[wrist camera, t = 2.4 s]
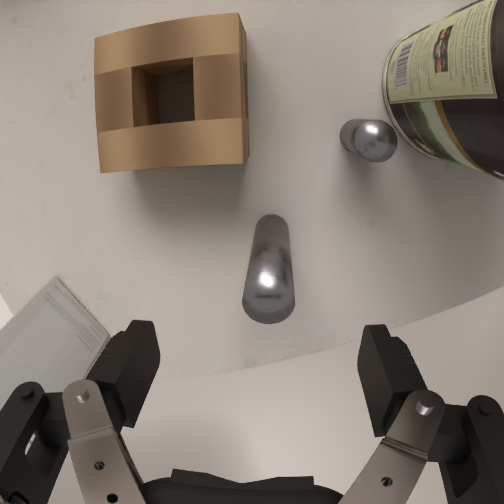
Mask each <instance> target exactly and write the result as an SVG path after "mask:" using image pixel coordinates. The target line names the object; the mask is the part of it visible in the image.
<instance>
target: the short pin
mask: <svg viewBox="0 0 504 504" xmlns="http://www.w3.org/2000/svg"><path fill="white" fill-rule="evenodd" d="M340 139H341V142H342V144H343V146H344V147H345V148H346V149H347V150H349V151H351V152H353V153H355V154H357V155H360V156H362V157H364V158H366V159H368V160H371V161H374V162H383V161H386V160H388V159H389V158H390V157H392V155H393V154H394V153H395V151H396V148H397V136H396V133H395V131H394V129H393V128H392V127H391V126H390V125H389V124H388V123H386V122H384V121H382V120H364V119H354V120H350V121H348V122H346V123H345V124H344V125H343V127H342V129H341V131H340Z"/></svg>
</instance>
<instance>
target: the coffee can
mask: <svg viewBox="0 0 504 504" xmlns="http://www.w3.org/2000/svg"><path fill="white" fill-rule="evenodd" d="M382 85H383V95H384V101H385V105H386V108H387V110H388V113H389V115H390V118H391V120H392V121H393V123H394V125H395V127H396V128H397V130H398V131H399V132H400V134H401V135H402V136H403V137H404V139H405V140H406V141H407V142H408V143H409V144H410V145H412V146H413V147H414V148H415V149H417V150H418V151H420V152H421V153H423V154H425V155H427V156H430V157H433V158H436V159H440V160H446V161H450V162H453V163H456V164H459V165H462V166H466V167H469V168H472V169H475V170H477V171H480V172H483V173H486V174H488V175H491V176H494V177H497V178H499V179H501V180H504V0H477V1H475V2H473V3H471V4H469V5H467V6H465V7H462V8H460V9H458V10H456V11H454V12H452V13H450V14H448V15H446V16H444V17H443V18H441V19H439V20H437V21H435V22H433V23H431V24H430V25H428V26H426V27H424V28H422V29H421V30H419V31H417V32H414V33H412V34H409V35H407V36H405V37H404V38H402V39H401V40H400V41H398V42H397V43H396V44H395V46H394V47H393V48H392V50H391V51H390V52H389V55H388V57H387V59H386V62H385V66H384V70H383V79H382Z"/></svg>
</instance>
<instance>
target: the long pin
mask: <svg viewBox="0 0 504 504" xmlns="http://www.w3.org/2000/svg"><path fill="white" fill-rule="evenodd" d="M242 304H243V308H244V310H245V312H246V313H247V315H248V316H249V317H250V318H252V319H253V320H255V321H257V322H260V323H264V324H274V323H278V322H281V321H283V320H285V319H286V318H287V317H288V316H289V315H290V314H291V313H292V311H293V309H294V306H295V295H294V284H293V273H292V262H291V252H290V241H289V232H288V226H287V223H286V222H285V220H284V219H283V218H281V217H280V216H277V215H266V216H264V217H262V218H261V219H260V220H259V221H258V223H257V225H256V229H255V234H254V239H253V245H252V250H251V255H250V261H249V266H248V271H247V277H246V282H245V287H244V293H243V298H242Z"/></svg>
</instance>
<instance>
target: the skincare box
mask: <svg viewBox="0 0 504 504" xmlns="http://www.w3.org/2000/svg"><path fill="white" fill-rule="evenodd" d="M108 336H109V333H108V332H107V331H106V330H105V329H104V328H103V327H102V326H101V325H100V324H99V323H98V322H97V321H96V320H95V319H94V318H93V317H92V316H91V315H90V314H89V313H88V311H87V310H86V309H85V308H84V307H83V306H82V305H81V304H80V303H79V302H78V301H77V300H76V298H75V297H74V296H73V295H72V294H71V293H70V292H69V291H68V289H67V288H66V287H65V286H64V285H63V284H62V283H61V281H60V280H59V279H58V278H57V277H56V276H55V277H54V278H52V279H51V280H50V281H49V282H48V283H47V284H46V285H45V286H44V287H43V288H42V289H41V290H40V291H39V292H38V293H37V294H36V295H34V296H33V297H32V298H31V299H30V300H29V301H28V302H27V303H26V304H25V305H24V306H23V307H22V308H21V309H20V310H19V311H18V312H17V313H16V314H15V315H14V316H13V317H12V318H11V319H10V320H9V321H8V322H7V324H6V325H5V326H4V327H3V328H2V329H1V330H0V411H1V409H2V407H3V406H4V404H5V403H6V401H7V400H8V398H9V397H10V395H11V394H12V392H13V391H14V389H15V388H16V387H17V386H19V385H20V384H22V383H25V382H29V381H33V382H37V383H39V384H40V385H41V386H42V388H43V389H44V391H45V393H50V392H63V391H64V389H65V388H66V387H67V386H68V385H69V384H71V383H72V382H74V381H77V380H83V378H84V377H85V375H86V373H87V371H88V370H89V368H90V366H91V364H92V363H93V361H94V359H95V358H96V356H97V354H98V353H99V351H100V349H101V347H102V346H103V344H104V342H105V341H106V339H107V337H108ZM34 438H35V435H34V433H33V435H32V437H31V439H30V441H29V443H28V445H27V447H26V450H25V454H27V452H28V450H29V448H30V446H31V444H32V442H33V440H34Z"/></svg>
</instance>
